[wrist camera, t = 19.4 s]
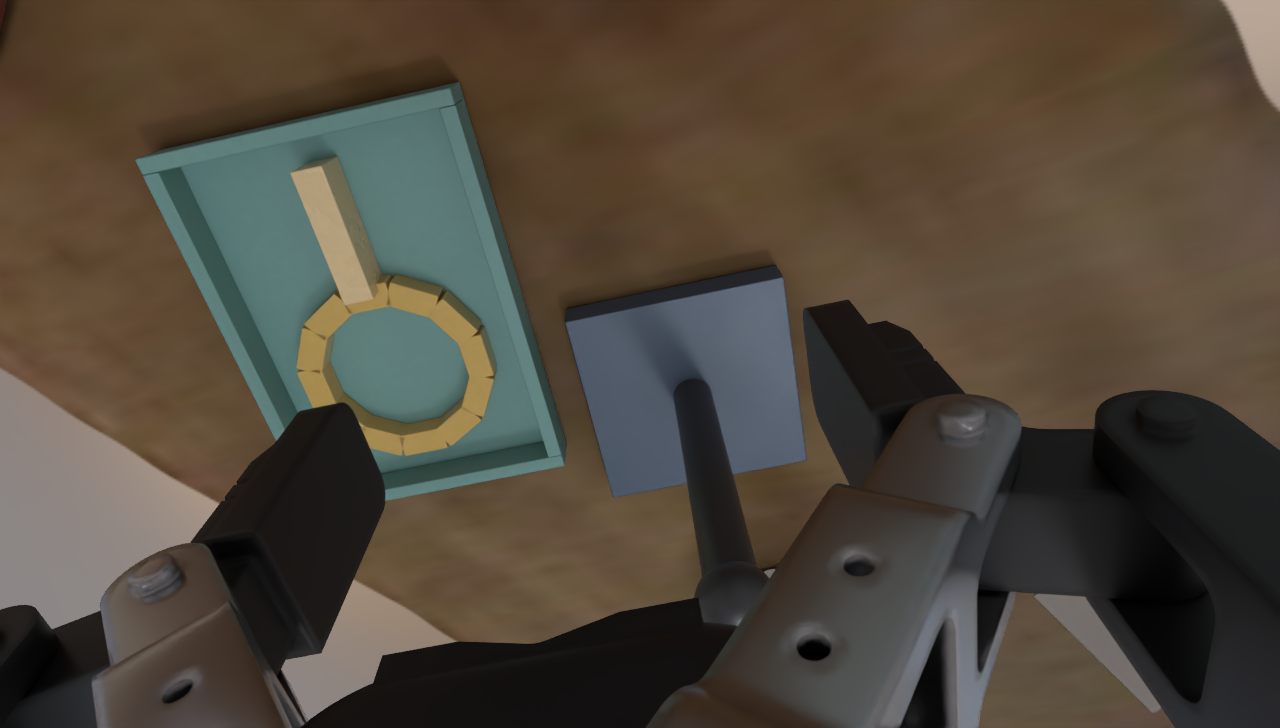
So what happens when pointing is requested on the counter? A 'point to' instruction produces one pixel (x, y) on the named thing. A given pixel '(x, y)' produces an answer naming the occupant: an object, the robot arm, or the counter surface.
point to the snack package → (2, 10)
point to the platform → (1097, 641)
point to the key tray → (403, 244)
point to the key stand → (695, 408)
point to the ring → (370, 291)
